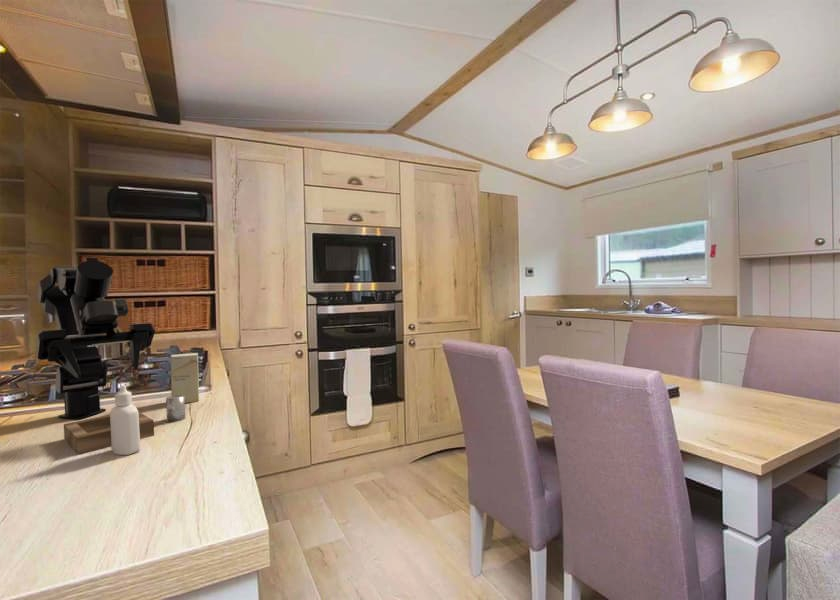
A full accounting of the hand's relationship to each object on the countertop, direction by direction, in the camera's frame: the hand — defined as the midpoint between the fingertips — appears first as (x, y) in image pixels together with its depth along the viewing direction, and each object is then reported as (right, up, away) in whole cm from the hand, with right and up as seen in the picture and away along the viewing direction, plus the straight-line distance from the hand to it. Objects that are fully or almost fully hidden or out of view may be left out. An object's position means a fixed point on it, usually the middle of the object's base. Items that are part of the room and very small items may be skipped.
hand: (109, 372), depth 81 cm
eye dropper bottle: (+7, -14, -5) cm, 16 cm away
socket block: (-1, -13, +2) cm, 13 cm away
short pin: (+6, -13, +12) cm, 19 cm away
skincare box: (0, -12, +27) cm, 30 cm away
